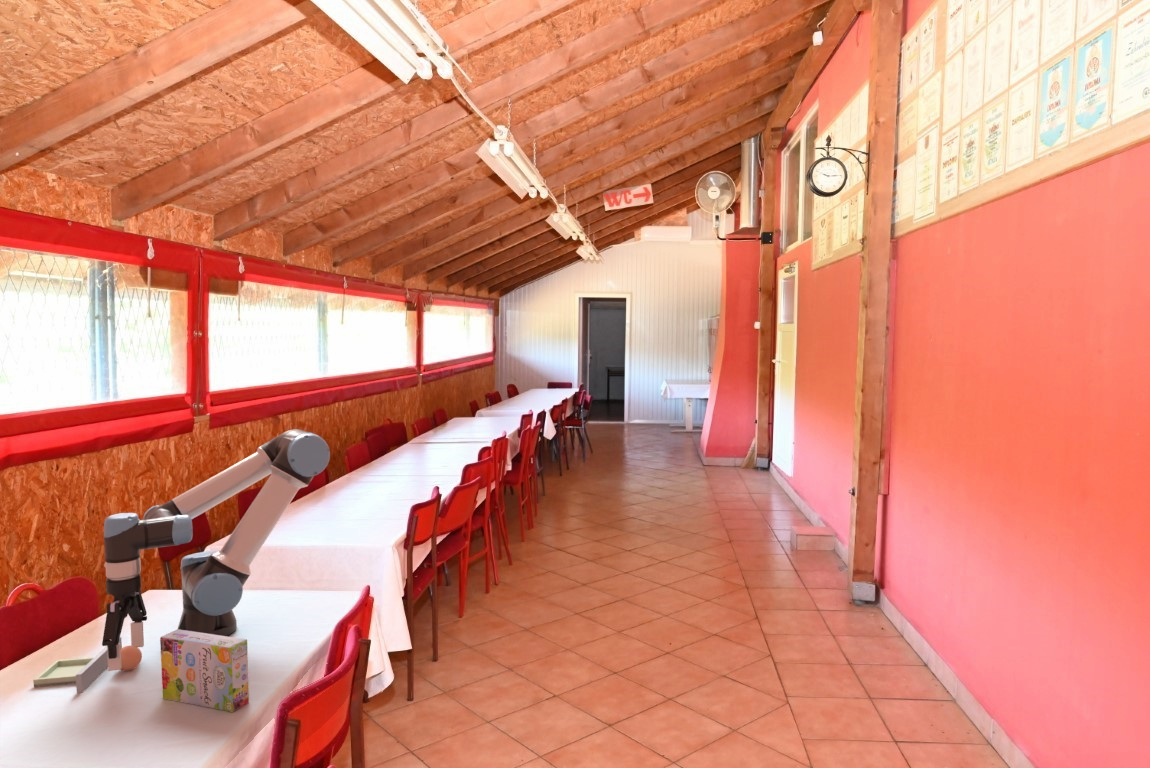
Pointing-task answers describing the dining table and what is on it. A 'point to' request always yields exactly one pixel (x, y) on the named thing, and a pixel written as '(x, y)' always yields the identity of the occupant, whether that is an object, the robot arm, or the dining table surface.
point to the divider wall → (92, 670)
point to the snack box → (205, 669)
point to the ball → (130, 657)
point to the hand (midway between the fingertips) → (126, 658)
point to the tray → (61, 672)
